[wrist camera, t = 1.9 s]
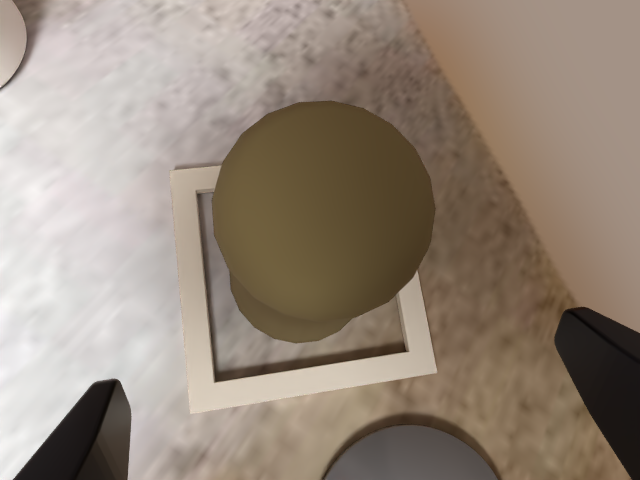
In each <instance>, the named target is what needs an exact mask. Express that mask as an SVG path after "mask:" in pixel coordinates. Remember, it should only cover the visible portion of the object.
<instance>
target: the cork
mask: <svg viewBox="0 0 640 480" xmlns="http://www.w3.org/2000/svg"><path fill="white" fill-rule="evenodd" d="M212 211H213V226H214V236H215V238H216V240H217V243H218V245H219V248H220V250H221V252H222V255H223V257H224V259H225V262H226V264H227V267H228V268H229V271H230V285H231V291H232V294H233V296H234V298H235V301H236V303H237V305H238V308H239V310H240V311H241V313H242V314H243V315H244V316H245V317H246V318H247V319H248V321H249V322H250V323H251V324H252V325H253V326H254V327H255V328H257V329H258V330H260V331H262V332H263V333H265V334H267V335H269V336H270V337H272V338H274V339H278V340H283V341H287V342H292V343H303V342H312V341H319V340H321V339H323V338H326V337H328V336H330V335H332V334H334V333H336V332H338V331H340V330H341V329H342V328H343V327H344V326H345V325H346V324H347V323H348V322H349V321H350V320H351V319H352V318H354V317H357V316H359V315H362V314H364V313H366V312H368V311H370V310H372V309H374V308H377V307H379V306H381V305H383V304H385V303H387V302H389V301H390V300H391V299H392V298H393V297H394V296H395V295H396V294H397V293H398V292H399V291H400V290H401V289H402V288H403V287H404V286H405V285H406V284H407V283H409V282H410V281H411V280H412V279H413V277H414V275H415V273H416V271H417V269H418V267H419V265H420V263H421V261H422V260H423V258H424V256H425V254H426V252H427V250H428V248H429V245H430V242H431V236H432V229H433V222H434V215H435V204H434V198H433V192H432V186H431V181H430V176H429V174H428V172H427V171H426V169H425V167H424V165H423V163H422V161H421V159H420V157H419V155H418V153H417V151H416V149H415V148H414V147H413V146H412V145H411V144H410V142H409V141H408V140H407V139H406V138H405V137H404V136H403V135H402V134H401V133H400V132H399V131H398V130H397V129H396V128H395V127H394V126H393V125H392V124H390V123H388V122H387V121H385V120H383V119H381V118H380V117H378V116H376V115H374V114H373V113H371V112H369V111H367V110H366V109H364V108H360V107H356V106H351V105H347V104H343V103H339V102H335V101H318V102H299V103H296V104H293V105H290V106H288V107H285V108H282V109H279V110H277V111H274V112H271V113H268V114H267V115H266V116H264V117H263V118H262V119H260V120H259V121H258V122H256V123H255V124H254V125H253V126H251V127H250V128H249V129H247V130H246V131H245V132H243V133H242V134H241V136H240V137H239V139H238V140H237V142H236V143H235V145H234V146H233V148H232V149H231V151H230V152H229V154H228V155H227V157H226V158H225V160H224V161H223V163H222V166H221V168H220V172H219V176H218V179H217V183H216V187H215V190H214V194H213V198H212Z"/></svg>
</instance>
